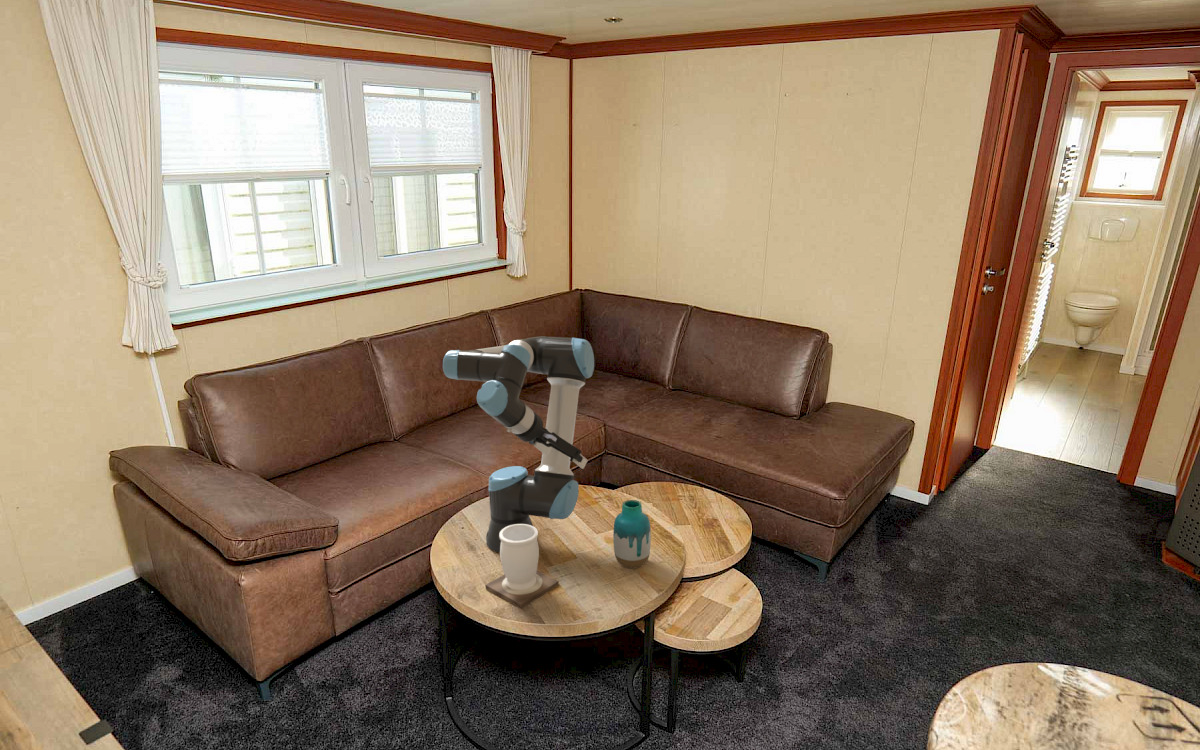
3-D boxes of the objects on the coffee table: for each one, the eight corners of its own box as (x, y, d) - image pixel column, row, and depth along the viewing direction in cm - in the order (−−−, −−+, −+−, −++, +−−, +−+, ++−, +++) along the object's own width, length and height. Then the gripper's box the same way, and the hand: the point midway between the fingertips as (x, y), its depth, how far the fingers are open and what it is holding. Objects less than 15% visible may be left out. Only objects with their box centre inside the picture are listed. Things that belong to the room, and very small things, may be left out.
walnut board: (485, 588, 187) (485, 584, 187) (523, 567, 197) (523, 563, 197) (521, 608, 178) (520, 604, 178) (558, 584, 189) (558, 580, 188)
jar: (497, 576, 191) (495, 527, 187) (533, 568, 194) (532, 520, 190) (506, 596, 181) (504, 545, 177) (544, 588, 185) (542, 538, 181)
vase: (647, 576, 192) (648, 513, 187) (610, 572, 194) (609, 510, 189) (652, 556, 202) (653, 496, 197) (617, 553, 204) (616, 494, 199)
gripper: (484, 423, 182) (528, 458, 197) (550, 447, 166) (593, 482, 181) (498, 399, 184) (541, 435, 199) (565, 420, 168) (606, 457, 183)
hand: (566, 457), depth 190 cm, fingers open, 13 cm apart
